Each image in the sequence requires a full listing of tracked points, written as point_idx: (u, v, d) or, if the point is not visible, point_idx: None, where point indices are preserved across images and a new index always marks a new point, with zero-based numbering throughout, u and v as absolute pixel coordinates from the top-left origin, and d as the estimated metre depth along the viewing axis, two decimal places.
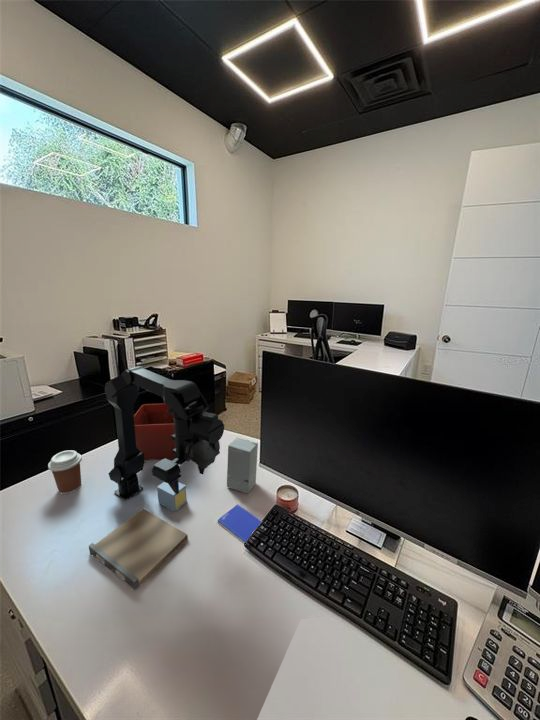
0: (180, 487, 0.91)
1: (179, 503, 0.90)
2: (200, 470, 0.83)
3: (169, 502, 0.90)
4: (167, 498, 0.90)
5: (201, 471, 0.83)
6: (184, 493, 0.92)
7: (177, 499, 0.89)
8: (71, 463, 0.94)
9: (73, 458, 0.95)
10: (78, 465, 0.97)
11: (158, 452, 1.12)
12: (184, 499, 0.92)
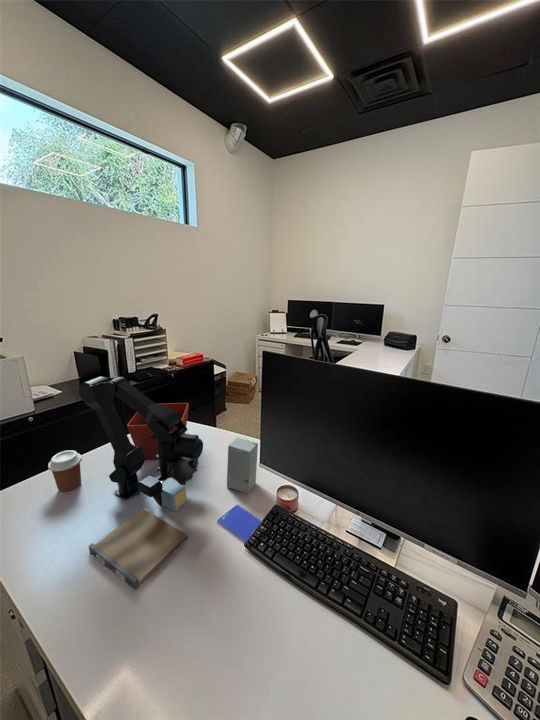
0: (180, 487, 0.91)
1: (179, 503, 0.90)
2: None
3: (169, 502, 0.90)
4: (167, 498, 0.90)
5: None
6: (184, 493, 0.92)
7: (177, 499, 0.89)
8: (71, 463, 0.94)
9: (73, 458, 0.95)
10: (78, 465, 0.97)
11: None
12: (184, 499, 0.92)
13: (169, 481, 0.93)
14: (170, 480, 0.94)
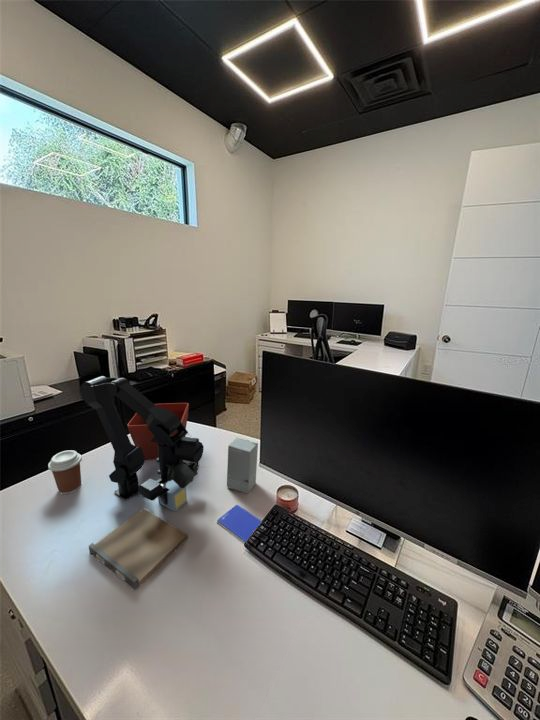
0: None
1: (179, 503, 0.90)
2: None
3: (169, 502, 0.89)
4: (167, 498, 0.90)
5: None
6: (184, 493, 0.92)
7: (177, 499, 0.89)
8: (71, 463, 0.94)
9: (73, 458, 0.95)
10: (78, 465, 0.97)
11: None
12: (184, 499, 0.92)
13: (169, 481, 0.93)
14: None
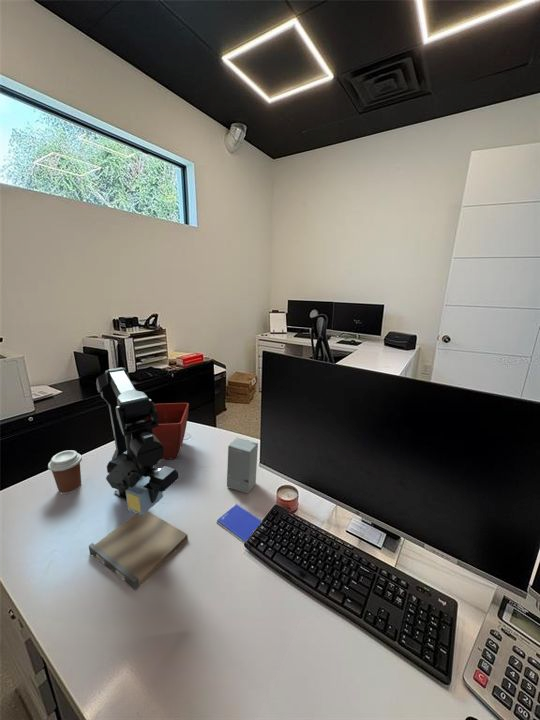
0: (137, 491, 0.73)
1: (132, 506, 0.74)
2: None
3: None
4: None
5: None
6: (138, 502, 0.73)
7: (129, 499, 0.74)
8: (71, 463, 0.94)
9: (73, 458, 0.95)
10: (78, 465, 0.97)
11: None
12: (138, 509, 0.73)
13: None
14: None
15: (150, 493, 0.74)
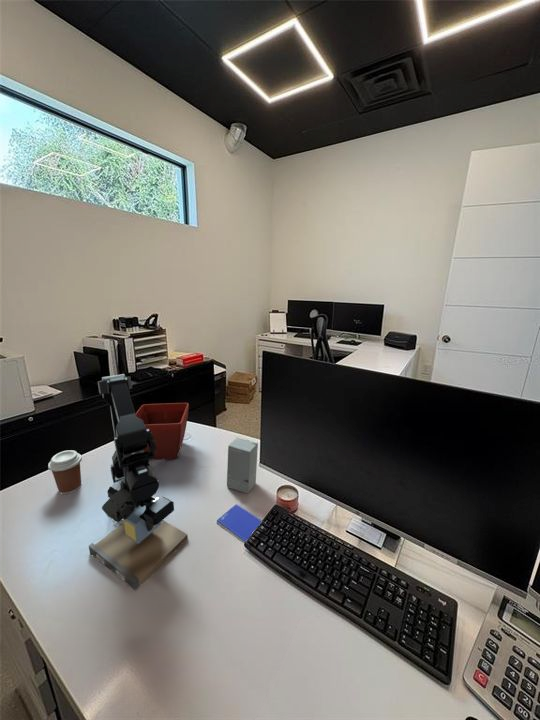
0: (134, 520, 0.73)
1: (129, 533, 0.75)
2: None
3: None
4: None
5: None
6: (134, 531, 0.73)
7: (126, 526, 0.74)
8: (71, 463, 0.94)
9: (73, 458, 0.95)
10: (78, 465, 0.97)
11: (158, 452, 1.12)
12: (134, 537, 0.74)
13: None
14: None
15: (146, 522, 0.74)
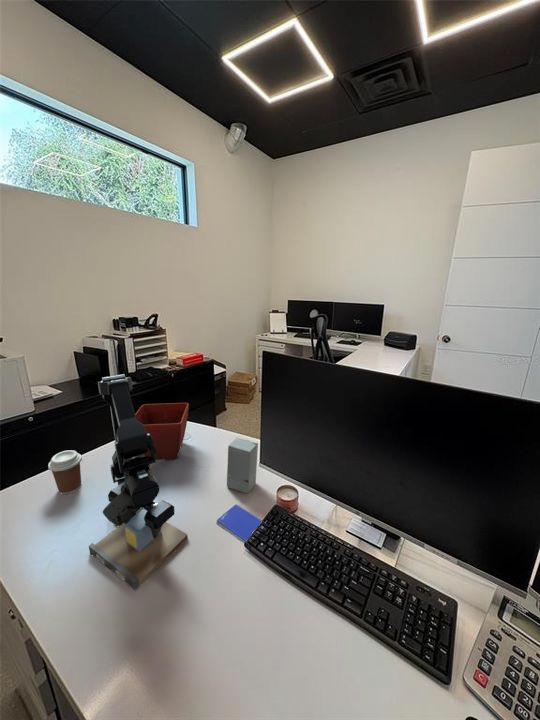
0: (135, 528, 0.74)
1: (130, 541, 0.75)
2: None
3: None
4: None
5: None
6: (135, 539, 0.74)
7: (127, 534, 0.75)
8: (71, 463, 0.94)
9: (73, 458, 0.95)
10: (78, 465, 0.97)
11: (158, 452, 1.12)
12: (135, 545, 0.74)
13: None
14: None
15: (152, 530, 0.73)
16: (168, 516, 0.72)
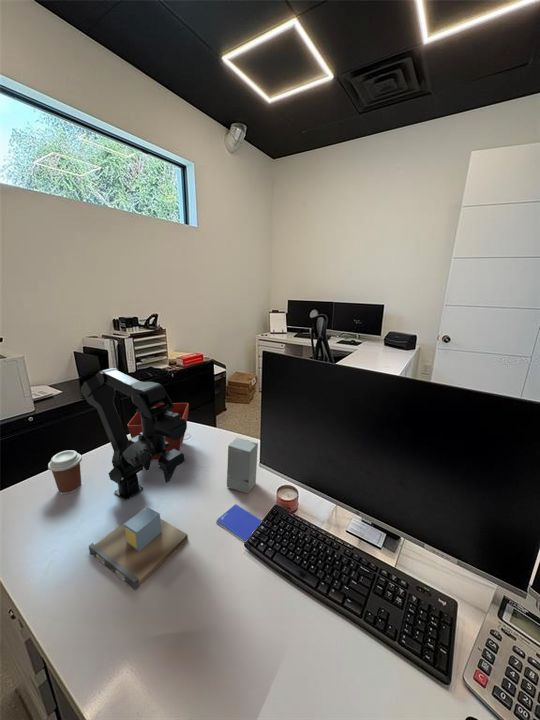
0: (135, 528, 0.74)
1: (130, 541, 0.75)
2: None
3: None
4: None
5: None
6: (135, 539, 0.74)
7: (127, 534, 0.75)
8: (71, 463, 0.94)
9: (73, 458, 0.95)
10: (78, 465, 0.97)
11: None
12: (135, 545, 0.74)
13: (152, 515, 0.78)
14: (153, 515, 0.78)
15: (164, 474, 0.82)
16: (179, 462, 0.80)
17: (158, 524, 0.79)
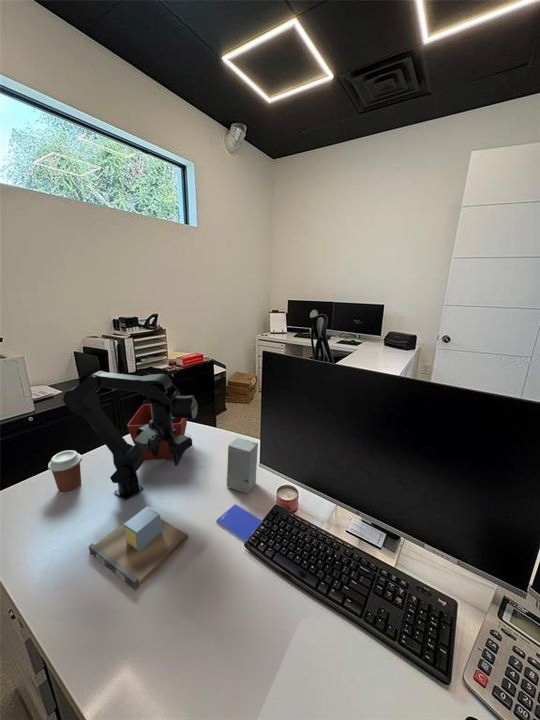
0: (135, 528, 0.74)
1: (130, 541, 0.75)
2: None
3: None
4: None
5: None
6: (135, 539, 0.74)
7: (127, 534, 0.75)
8: (71, 463, 0.94)
9: (73, 458, 0.95)
10: (78, 465, 0.97)
11: None
12: (135, 545, 0.74)
13: (152, 515, 0.78)
14: (153, 515, 0.78)
15: (174, 458, 0.89)
16: (188, 445, 0.87)
17: (158, 524, 0.79)
